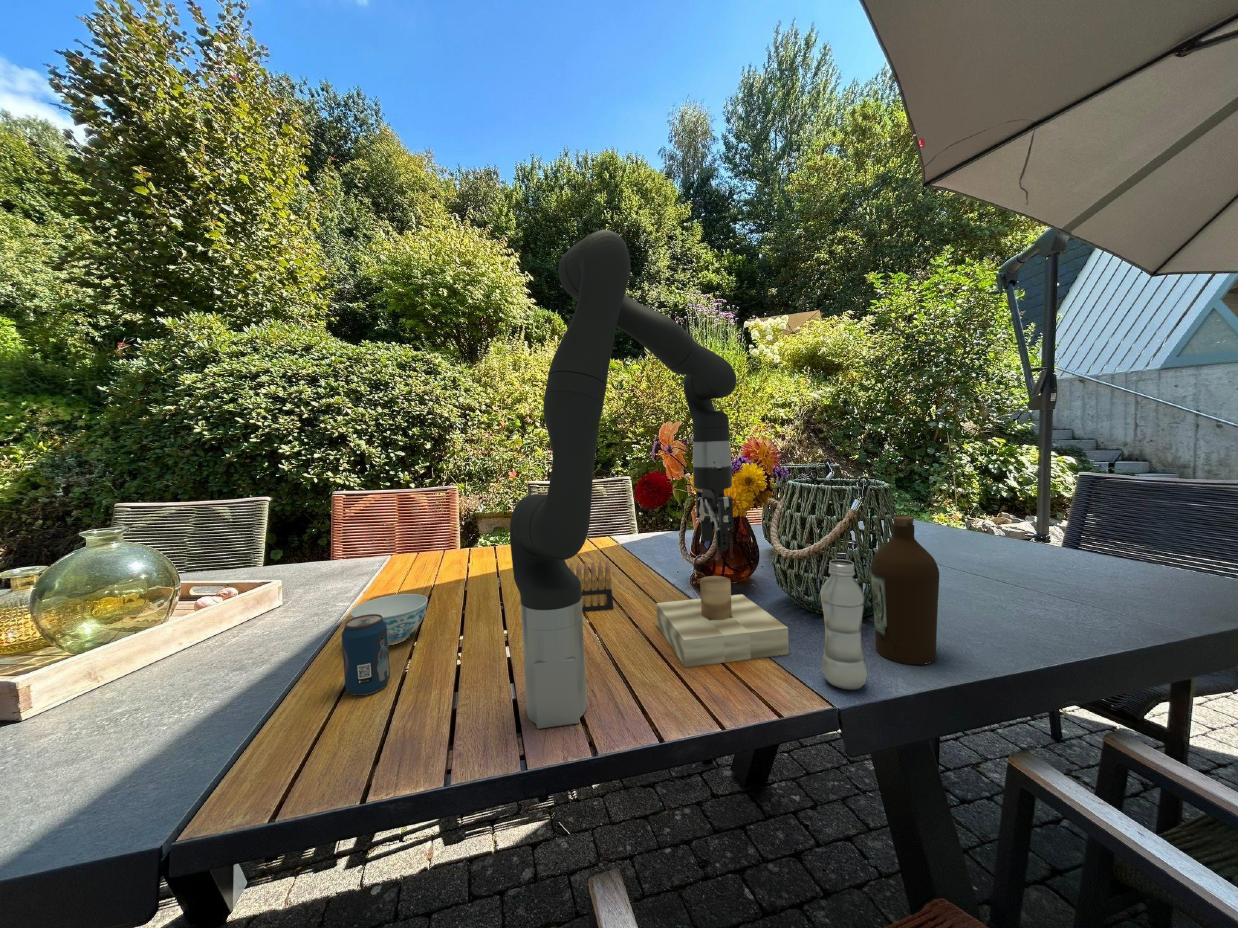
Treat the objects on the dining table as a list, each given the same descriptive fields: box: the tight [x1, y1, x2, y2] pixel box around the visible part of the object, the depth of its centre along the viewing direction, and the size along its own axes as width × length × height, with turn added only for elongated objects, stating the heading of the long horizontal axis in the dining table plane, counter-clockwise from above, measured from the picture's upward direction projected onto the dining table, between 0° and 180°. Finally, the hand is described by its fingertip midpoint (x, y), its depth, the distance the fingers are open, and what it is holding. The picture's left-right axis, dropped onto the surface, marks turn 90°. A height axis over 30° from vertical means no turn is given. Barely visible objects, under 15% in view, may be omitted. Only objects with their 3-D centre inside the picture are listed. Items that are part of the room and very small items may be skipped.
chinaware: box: [349, 593, 429, 644], centre depth 103 cm, size 15×15×8 cm
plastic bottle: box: [820, 559, 868, 691], centre depth 77 cm, size 6×7×20 cm
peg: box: [699, 575, 732, 620], centre depth 96 cm, size 6×6×12 cm
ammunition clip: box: [568, 560, 614, 613], centre depth 116 cm, size 11×2×12 cm, turn 96°
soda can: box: [341, 614, 391, 696], centre depth 83 cm, size 7×7×12 cm
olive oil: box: [870, 515, 940, 665], centre depth 86 cm, size 11×11×25 cm
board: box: [656, 594, 790, 668], centre depth 97 cm, size 20×20×5 cm
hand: (714, 545), depth 96 cm, fingers open, 8 cm apart
